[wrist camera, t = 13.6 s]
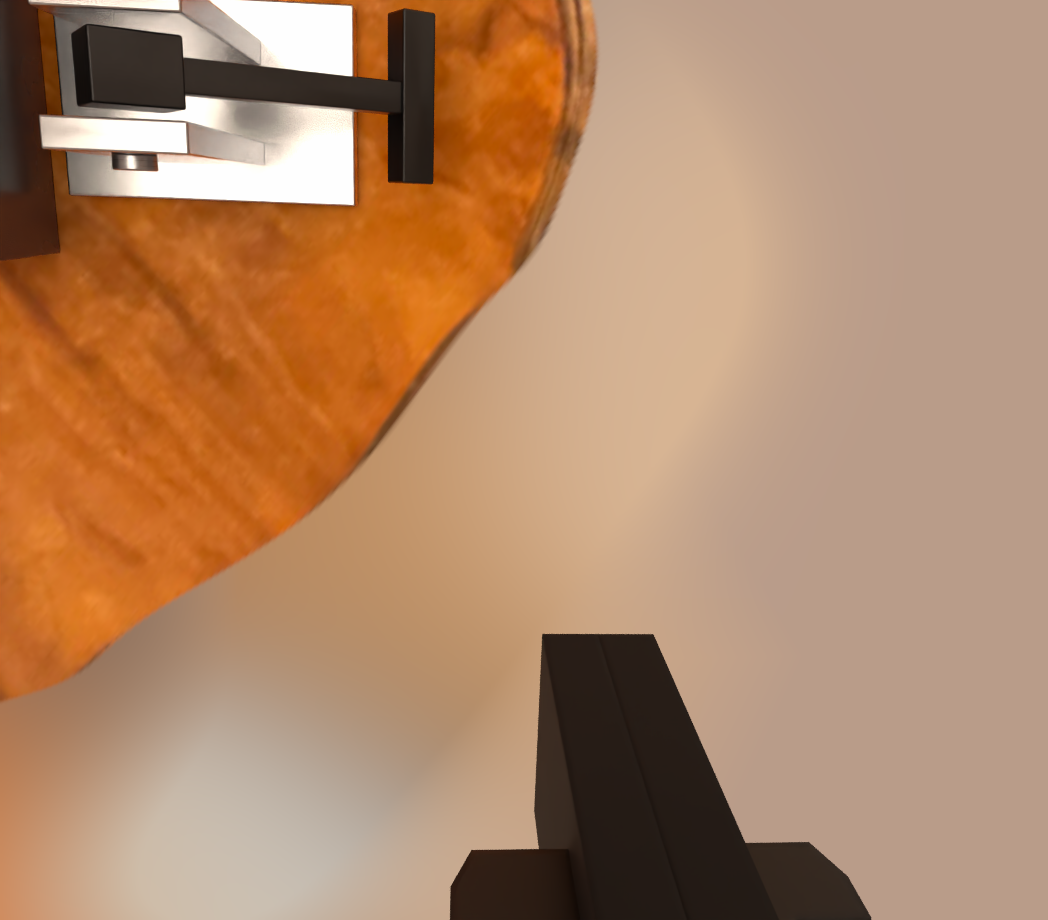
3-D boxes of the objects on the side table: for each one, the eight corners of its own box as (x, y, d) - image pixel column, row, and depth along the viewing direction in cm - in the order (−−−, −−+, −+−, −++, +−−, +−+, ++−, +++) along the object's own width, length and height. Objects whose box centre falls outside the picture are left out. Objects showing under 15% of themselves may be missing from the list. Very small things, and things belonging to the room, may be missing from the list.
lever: (412, 19, 36) (443, 11, 34) (411, 183, 37) (441, 184, 35) (64, -35, 29) (79, -49, 27) (81, 168, 31) (97, 168, 29)
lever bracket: (356, 9, 40) (309, -74, 27) (358, 206, 42) (315, 210, 29) (62, -7, 39) (-123, -101, 26) (79, 195, 41) (-85, 195, 28)
